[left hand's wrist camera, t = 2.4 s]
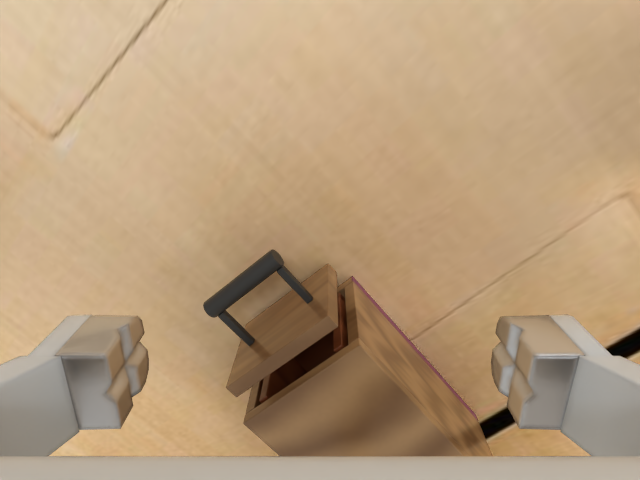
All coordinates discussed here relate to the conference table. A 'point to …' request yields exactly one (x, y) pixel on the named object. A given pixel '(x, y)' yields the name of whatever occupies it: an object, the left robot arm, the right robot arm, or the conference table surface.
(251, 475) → the left robot arm
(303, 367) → the drawer
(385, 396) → the cabinet
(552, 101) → the conference table surface
